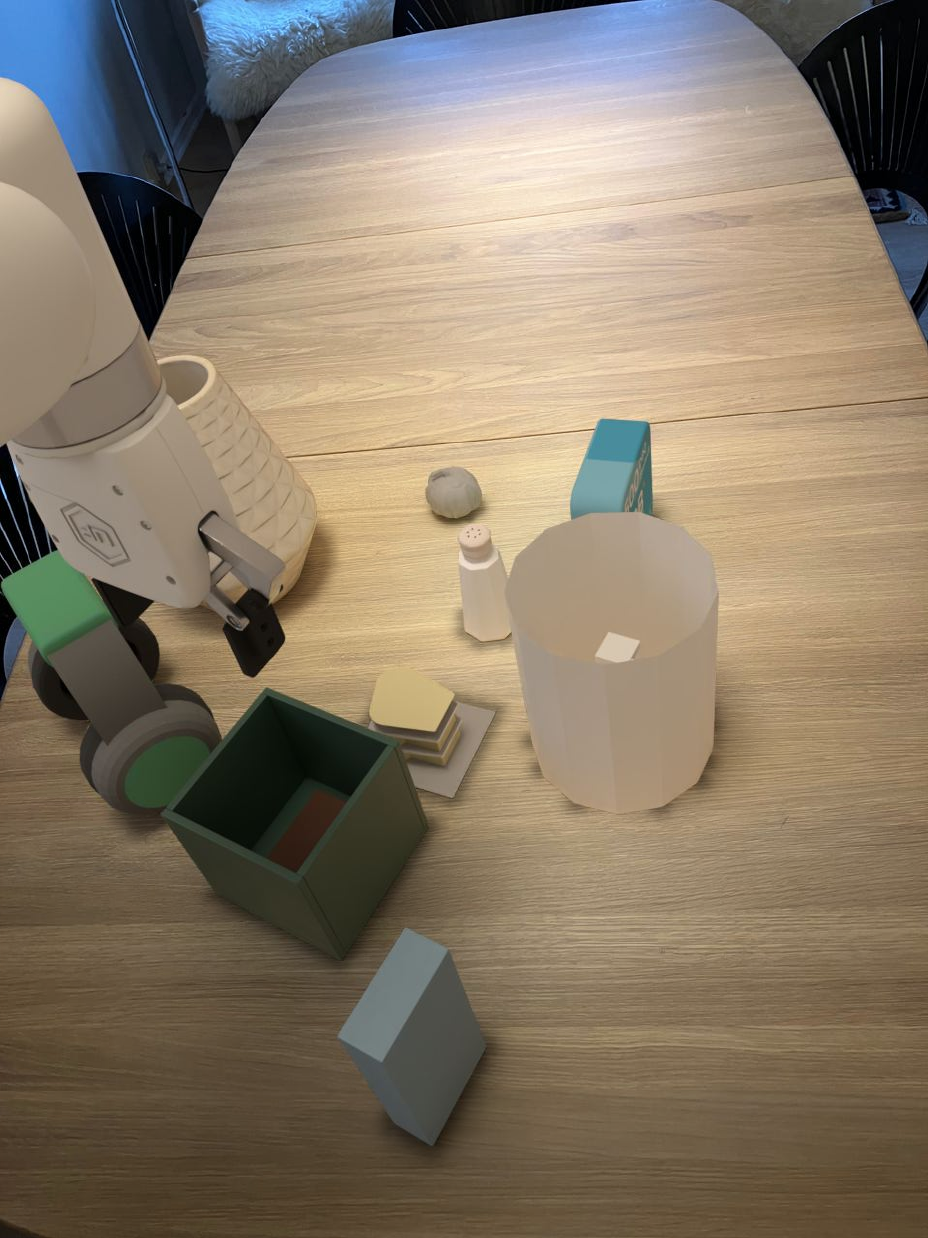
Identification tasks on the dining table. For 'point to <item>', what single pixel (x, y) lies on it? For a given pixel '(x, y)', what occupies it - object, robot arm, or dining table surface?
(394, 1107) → the grey-blue rectangular block
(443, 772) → the stacked layers on plate
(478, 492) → the garlic
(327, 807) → the reddish brown block
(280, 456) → the vase
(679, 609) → the container
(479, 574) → the pepper shaker
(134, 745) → the headphones
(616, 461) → the teal box
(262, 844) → the bin
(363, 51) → the dining table surface
